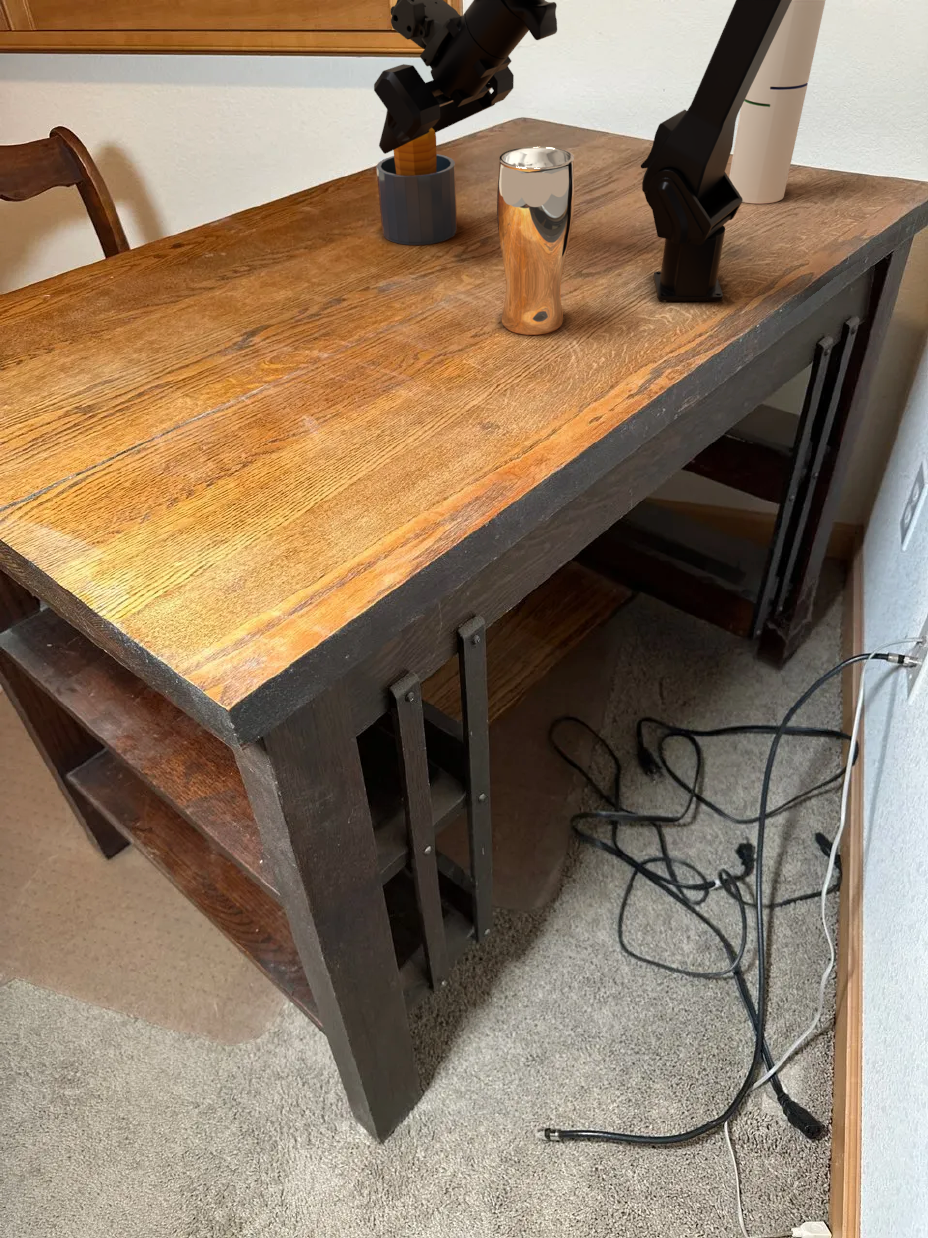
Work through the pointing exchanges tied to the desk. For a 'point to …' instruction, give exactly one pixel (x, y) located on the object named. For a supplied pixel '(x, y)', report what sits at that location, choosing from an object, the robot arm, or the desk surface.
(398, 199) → the cup
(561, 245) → the beer glass
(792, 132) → the cylindrical container
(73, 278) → the desk surface
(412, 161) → the carrot
